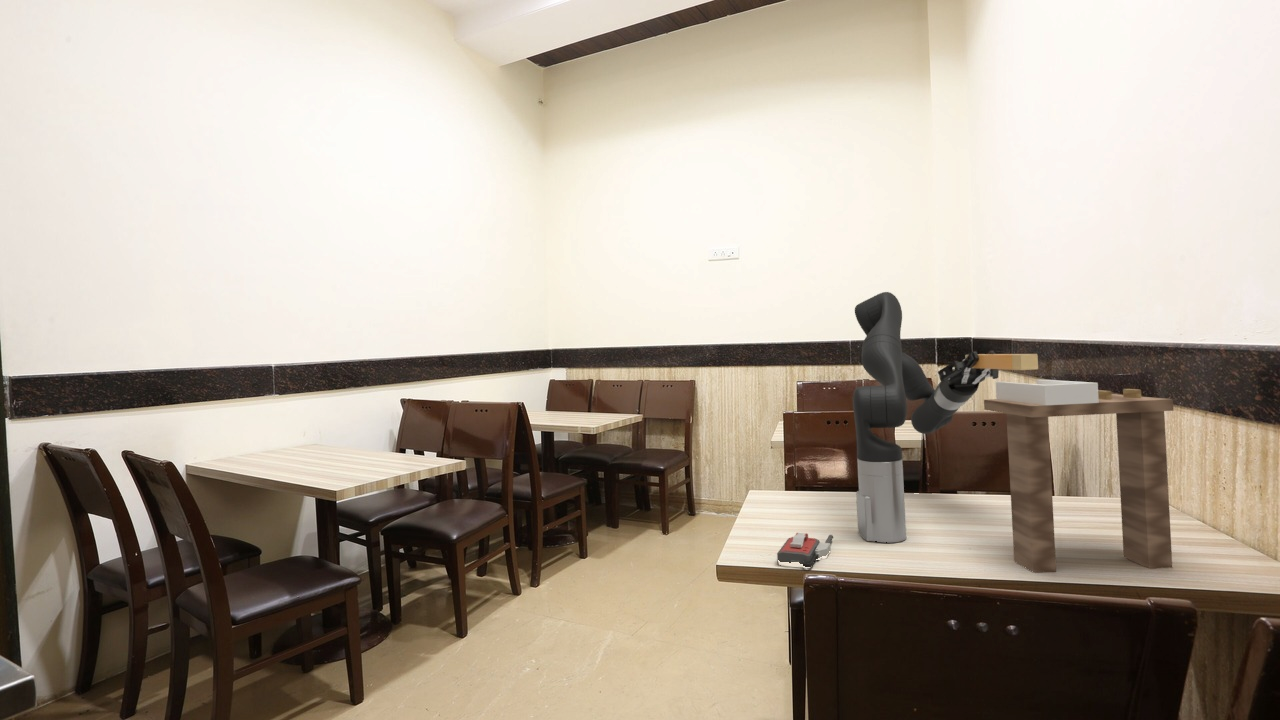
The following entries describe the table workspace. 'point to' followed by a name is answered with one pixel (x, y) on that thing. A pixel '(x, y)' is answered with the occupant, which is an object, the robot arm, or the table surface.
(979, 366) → the tan wooden bar
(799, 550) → the walkie-talkie
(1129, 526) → the shelf
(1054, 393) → the tray
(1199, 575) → the table surface
